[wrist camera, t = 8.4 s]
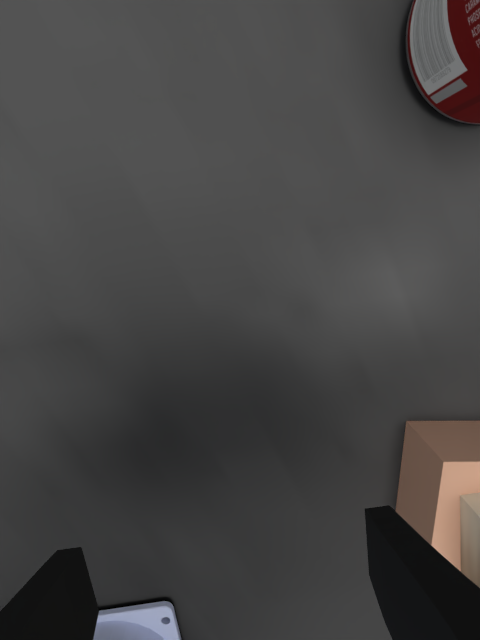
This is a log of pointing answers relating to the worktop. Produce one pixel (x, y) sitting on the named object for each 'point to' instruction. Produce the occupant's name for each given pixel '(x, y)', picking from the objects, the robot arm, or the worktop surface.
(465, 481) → the terracotta block
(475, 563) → the birch cube
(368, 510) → the robot arm
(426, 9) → the soda can
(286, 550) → the worktop surface
